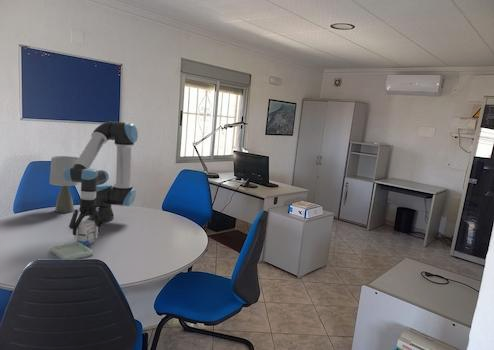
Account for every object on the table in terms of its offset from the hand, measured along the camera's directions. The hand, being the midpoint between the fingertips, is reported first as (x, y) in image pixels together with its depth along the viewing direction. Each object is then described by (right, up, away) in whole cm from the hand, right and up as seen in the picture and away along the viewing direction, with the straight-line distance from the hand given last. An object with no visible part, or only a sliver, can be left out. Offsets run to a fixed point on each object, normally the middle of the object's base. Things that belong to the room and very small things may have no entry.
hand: (85, 239), depth 180 cm
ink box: (0, -3, 0) cm, 3 cm away
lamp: (-40, +9, +52) cm, 66 cm away
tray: (0, -4, -14) cm, 14 cm away
